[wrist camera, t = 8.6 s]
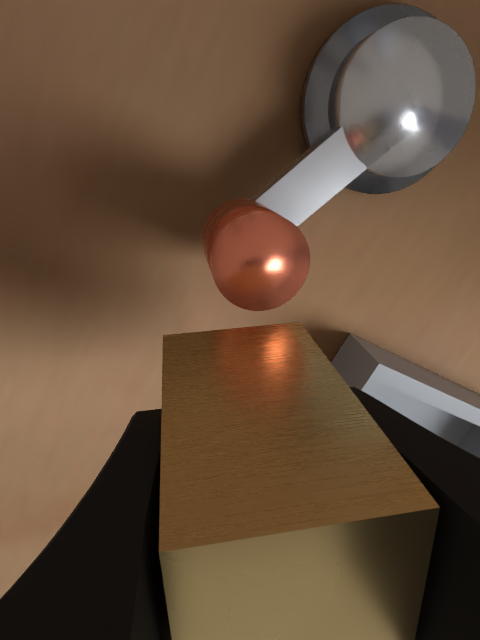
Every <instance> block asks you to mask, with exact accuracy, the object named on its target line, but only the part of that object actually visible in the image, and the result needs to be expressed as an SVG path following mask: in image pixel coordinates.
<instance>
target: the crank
mask: <svg viewBox="0 0 480 640" xmlns="http://www.w3.org/2000/svg"><path fill="white" fill-rule="evenodd" d="M475 93H476V78H475V69H474V65H473V61H472V58H471V55H470V53H469V50H468V48H467V47H466V45H465V43H464V41H463V40H462V39H461V37H460V36H459V35H458V34H457V33H456V32H455V31H454V30H453V29H452V28H451V27H449V26H448V25H446V24H445V23H443V22H441V21H439V20H436V19H433V18H429V17H422V16H415V17H407V18H403V19H399V20H397V21H394V22H392V23H390V24H388V25H386V26H384V27H382V28H380V29H379V30H377V31H375V32H373V33H371V34H370V35H368V36H366V37H365V38H363V39H362V40H361V41H359V42H358V43H357V44H356V45H355V46H354V47H353V48H352V49H351V50H350V51H349V53H348V54H347V55H346V56H345V58H344V59H343V61H342V63H341V64H340V66H339V68H338V70H337V72H336V74H335V76H334V79H333V82H332V85H331V89H330V94H329V101H328V119H329V126H330V131H329V132H327V133H326V134H325V135H324V136H323V137H322V138H320V139H319V140H318V141H317V142H316V143H315V144H313V145H312V146H311V147H310V148H309V149H308V150H306V151H305V152H304V153H303V154H302V155H301V156H299V157H298V158H297V159H296V160H295V161H294V162H292V163H291V164H290V165H289V166H288V167H287V168H285V169H284V170H283V171H282V172H281V173H280V174H278V175H277V176H276V177H275V178H274V179H273V180H271V181H270V182H269V183H268V184H267V185H266V186H264V187H263V188H262V189H261V190H260V191H259V192H258V193H256V194H255V195H254V196H253V197H252V198H251V199H234V200H230V201H227V202H225V203H223V204H221V205H220V206H219V207H217V208H216V209H215V210H214V211H213V212H212V213H211V214H210V216H209V217H208V219H207V221H206V223H205V225H204V228H203V233H202V245H203V250H204V253H205V256H206V259H207V261H208V264H209V267H210V270H211V272H212V275H213V278H214V280H215V283H216V285H217V287H218V289H219V291H220V292H221V293H222V295H223V296H224V297H225V298H226V299H227V300H228V301H230V302H231V303H233V304H234V305H236V306H238V307H240V308H243V309H247V310H252V311H264V310H269V309H273V308H276V307H278V306H281V305H282V304H284V303H286V302H287V301H289V300H290V299H291V298H292V297H293V296H295V295H296V293H297V292H298V291H299V290H300V288H301V287H302V285H303V284H304V282H305V280H306V277H307V274H308V271H309V265H310V253H309V248H308V244H307V241H306V239H305V237H304V235H303V234H302V232H301V231H300V230H299V229H298V227H297V226H299V225H300V224H301V223H302V222H303V221H305V220H306V219H307V218H308V217H309V216H311V215H312V214H313V213H314V212H315V211H317V210H318V209H319V208H320V207H321V206H323V205H324V204H325V203H326V202H327V201H329V200H330V199H331V198H332V197H333V196H335V195H336V194H337V193H338V192H339V191H341V190H342V189H343V188H344V187H345V186H347V185H348V184H349V183H350V182H351V181H353V180H354V179H355V178H356V177H357V176H359V175H360V174H361V173H362V172H363V171H364V172H367V173H369V174H374V175H381V176H388V177H409V176H413V175H417V174H419V173H422V172H424V171H426V170H428V169H430V168H432V167H434V166H435V165H436V164H438V163H439V162H440V161H442V160H443V159H444V158H445V157H446V156H447V155H448V154H449V153H450V152H451V151H452V149H453V148H454V147H455V146H456V144H457V143H458V142H459V140H460V139H461V137H462V135H463V133H464V131H465V129H466V127H467V125H468V123H469V120H470V117H471V114H472V111H473V106H474V102H475Z"/></svg>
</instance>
